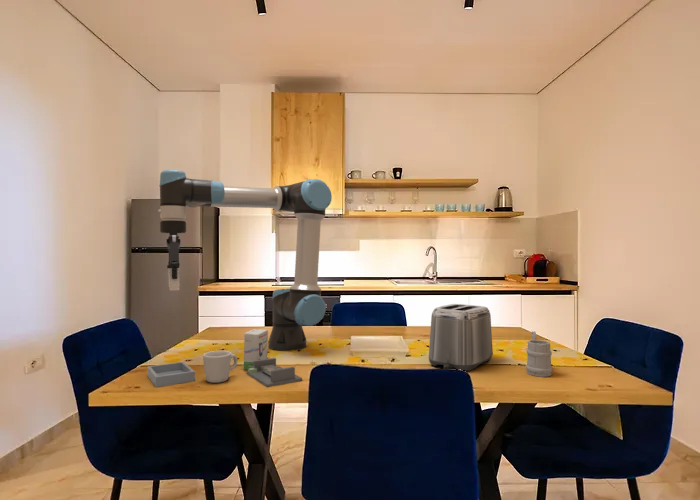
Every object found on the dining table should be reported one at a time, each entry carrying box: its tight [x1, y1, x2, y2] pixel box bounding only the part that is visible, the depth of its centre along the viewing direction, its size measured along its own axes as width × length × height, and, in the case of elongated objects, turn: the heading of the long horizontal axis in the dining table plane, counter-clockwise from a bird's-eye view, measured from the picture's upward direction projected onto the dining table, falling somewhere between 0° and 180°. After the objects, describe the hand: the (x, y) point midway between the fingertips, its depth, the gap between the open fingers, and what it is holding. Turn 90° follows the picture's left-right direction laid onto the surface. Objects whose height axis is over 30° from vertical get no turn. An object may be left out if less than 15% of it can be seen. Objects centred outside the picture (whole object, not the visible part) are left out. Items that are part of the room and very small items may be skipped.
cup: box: [202, 350, 238, 384], centre depth 130 cm, size 11×8×8 cm
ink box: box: [243, 328, 269, 371], centre depth 144 cm, size 9×5×12 cm, turn 168°
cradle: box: [246, 357, 303, 388], centre depth 132 cm, size 11×16×4 cm
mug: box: [525, 330, 554, 378], centre depth 138 cm, size 8×12×12 cm, turn 172°
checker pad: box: [261, 364, 282, 376], centre depth 132 cm, size 4×10×1 cm, turn 34°
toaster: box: [428, 303, 494, 372], centre depth 148 cm, size 17×30×19 cm, turn 141°
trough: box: [146, 361, 196, 388], centre depth 131 cm, size 11×14×3 cm
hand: (173, 288), depth 137 cm, fingers open, 13 cm apart
